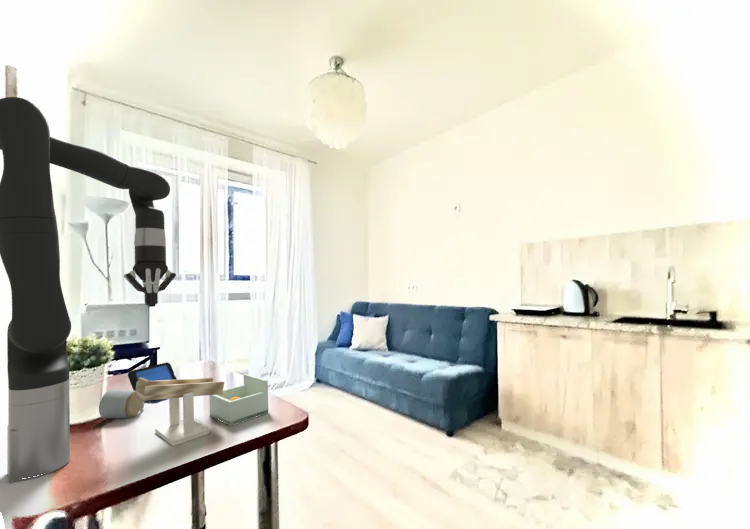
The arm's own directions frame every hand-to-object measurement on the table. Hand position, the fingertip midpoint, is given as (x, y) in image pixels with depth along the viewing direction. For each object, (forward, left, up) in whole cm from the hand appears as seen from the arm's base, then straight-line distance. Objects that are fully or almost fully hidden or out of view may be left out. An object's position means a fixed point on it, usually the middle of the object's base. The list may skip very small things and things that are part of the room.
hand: (151, 306), depth 100 cm
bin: (+16, -18, -31) cm, 39 cm away
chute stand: (+1, -18, -31) cm, 36 cm away
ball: (+15, -18, -28) cm, 36 cm away
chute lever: (+1, -14, -21) cm, 25 cm away
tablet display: (+10, +23, -32) cm, 40 cm away
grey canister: (-4, +10, -31) cm, 33 cm away
